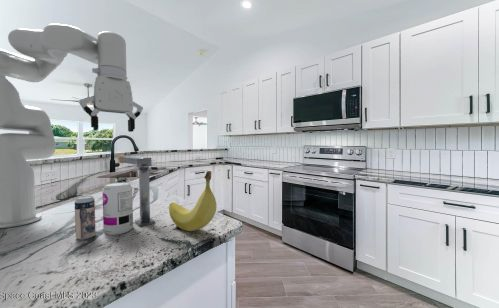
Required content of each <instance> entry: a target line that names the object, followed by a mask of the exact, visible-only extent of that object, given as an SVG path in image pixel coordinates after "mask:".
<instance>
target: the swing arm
mask: <svg viewBox="0 0 499 308" xmlns="http://www.w3.org/2000/svg"><path fill="white" fill-rule="evenodd" d="M152 161H153V159H152V157H134V156H127V154H126V155H124V154H121V155H120V154H118V155H117V163H118V164H129V165H135V167H138V168H139V167H152V165H153V163H152Z"/></svg>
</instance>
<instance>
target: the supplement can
mask: <svg viewBox="0 0 499 308" xmlns="http://www.w3.org/2000/svg"><path fill="white" fill-rule="evenodd" d="M133 199H134V198H133V187H132V185H131V183H130V182H124V181H123V182H112V183H107V184H106V183H105V184H104V187H103V189H102V220H103V221H102V223H103V225H102V226H103V232H104V233H105V234H106V235H108V236H109V235H111V236H112V235H113V236H114V235H121V234H125V233H128V232H129V231H131V230H132V229H133V228H134V210H133V209H134V208H133V207H134V205H133V203H134V202H133Z"/></svg>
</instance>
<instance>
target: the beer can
mask: <svg viewBox="0 0 499 308" xmlns="http://www.w3.org/2000/svg"><path fill="white" fill-rule="evenodd" d="M95 201H96V200H95V197H93V195H86V196H85V195H84V196H78V197H76V199H75V200H74V225H75V226H74V227H75V228H74V230H75V239H77V240H80V241H84V240H89V239H91V238H93V237H95V236H96V233H97V232H96V204H95V203H96V202H95Z"/></svg>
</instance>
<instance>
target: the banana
mask: <svg viewBox="0 0 499 308" xmlns="http://www.w3.org/2000/svg"><path fill="white" fill-rule="evenodd" d="M204 175H205V176H204V177H203V178H204V180H205V188H204V190H203V192H202V193H201V194H200V195H199V198H198V200H197V201H196V203H195V206H194V207H193V208H192V209H191V210H189V209H187V208H185V207H183V206H182V205H180V204H178V203H176V202H171V203H169V207H168V212H169V213H168V214H169V216H170V219H171V221H172V222H173V223H174V225H176V227H178V229H181V230H183V231H187V232H195V231H198V230H200V229H203V228H205V227H206V226H207V225H208V224H210V222H211V221H212V220H213V219H214V218H215V217H214V216H215V214H216V212H217V201H216V197H215V195H214V193H213V191H212V189H211V187H210V186H211V185H210V184H211V183H210V182H211V179H212V171H211V170H207V171H206V172H205V174H204Z"/></svg>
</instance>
